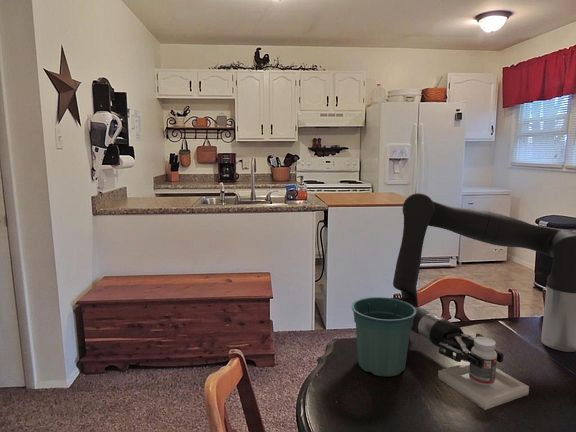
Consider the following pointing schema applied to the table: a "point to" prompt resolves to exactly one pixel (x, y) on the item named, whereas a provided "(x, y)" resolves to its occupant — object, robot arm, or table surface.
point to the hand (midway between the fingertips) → (492, 361)
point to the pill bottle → (485, 351)
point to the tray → (483, 386)
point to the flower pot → (383, 334)
